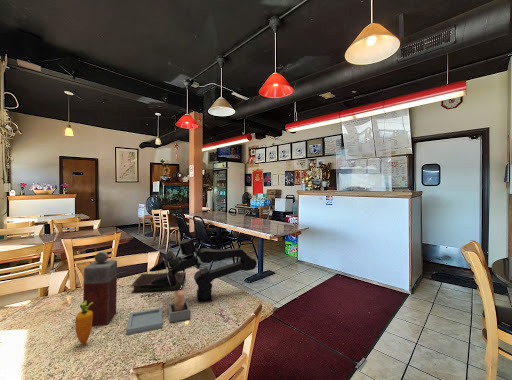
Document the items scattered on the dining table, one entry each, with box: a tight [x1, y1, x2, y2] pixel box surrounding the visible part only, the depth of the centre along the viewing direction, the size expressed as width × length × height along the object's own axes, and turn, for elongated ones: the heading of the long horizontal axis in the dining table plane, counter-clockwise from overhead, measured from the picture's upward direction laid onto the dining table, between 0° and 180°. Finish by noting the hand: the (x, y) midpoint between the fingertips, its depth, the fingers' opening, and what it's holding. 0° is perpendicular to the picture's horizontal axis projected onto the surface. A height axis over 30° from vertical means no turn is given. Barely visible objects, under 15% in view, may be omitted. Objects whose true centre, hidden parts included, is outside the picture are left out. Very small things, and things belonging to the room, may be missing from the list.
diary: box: [130, 271, 186, 294], centre depth 131 cm, size 19×25×5 cm
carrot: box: [75, 301, 93, 346], centre depth 80 cm, size 5×5×15 cm
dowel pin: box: [173, 289, 185, 312], centre depth 99 cm, size 4×4×10 cm
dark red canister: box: [82, 250, 118, 327], centre depth 97 cm, size 9×11×28 cm
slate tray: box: [125, 307, 163, 336], centre depth 94 cm, size 12×12×2 cm
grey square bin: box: [168, 301, 191, 324], centre depth 99 cm, size 8×8×4 cm
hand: (150, 276), depth 105 cm, fingers open, 9 cm apart
